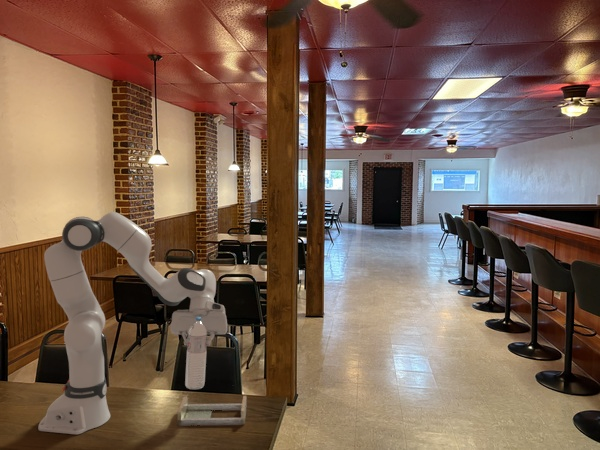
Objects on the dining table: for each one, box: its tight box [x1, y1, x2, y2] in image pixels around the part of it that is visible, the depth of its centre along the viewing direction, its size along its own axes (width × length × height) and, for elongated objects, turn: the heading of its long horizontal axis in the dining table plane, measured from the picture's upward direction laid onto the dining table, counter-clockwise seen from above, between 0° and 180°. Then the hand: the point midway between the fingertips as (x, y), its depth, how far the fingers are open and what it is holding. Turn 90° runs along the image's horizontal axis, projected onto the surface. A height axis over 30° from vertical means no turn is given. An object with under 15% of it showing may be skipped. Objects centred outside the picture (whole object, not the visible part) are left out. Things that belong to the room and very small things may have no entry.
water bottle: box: [184, 317, 208, 390], centre depth 159 cm, size 7×7×25 cm
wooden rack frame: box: [176, 395, 247, 427], centre depth 161 cm, size 23×11×5 cm, turn 93°
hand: (197, 344), depth 158 cm, fingers closed on water bottle, 6 cm apart
